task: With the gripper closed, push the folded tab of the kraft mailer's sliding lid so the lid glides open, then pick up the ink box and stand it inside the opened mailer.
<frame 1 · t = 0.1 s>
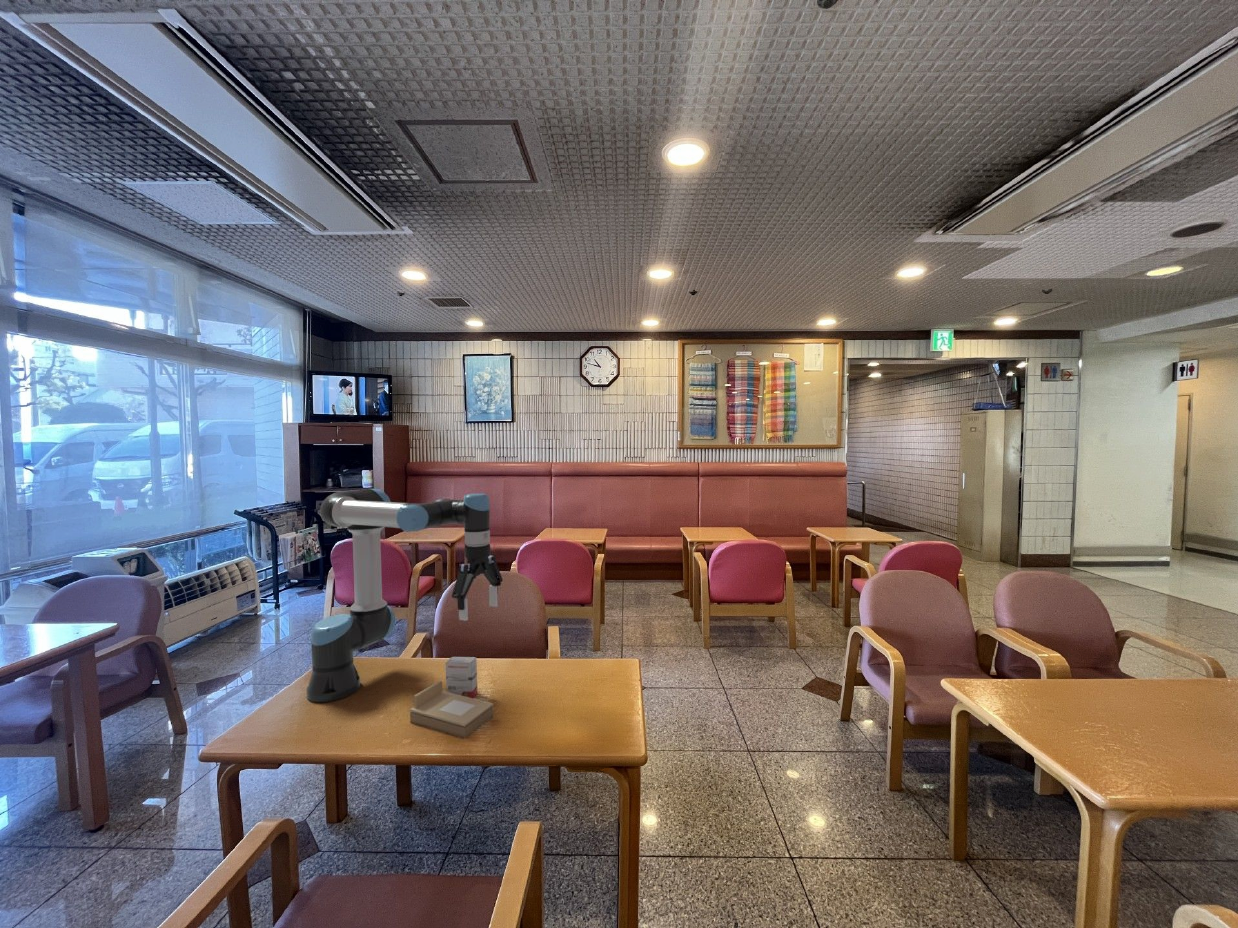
hand: (479, 612, 152), 28 cm above the table, fingers open, 13 cm apart
ink box: (462, 696, 157), on the table
lid: (451, 701, 143), point 5 cm above the table, slide at 0.0 cm
mailer: (452, 719, 143), on the table
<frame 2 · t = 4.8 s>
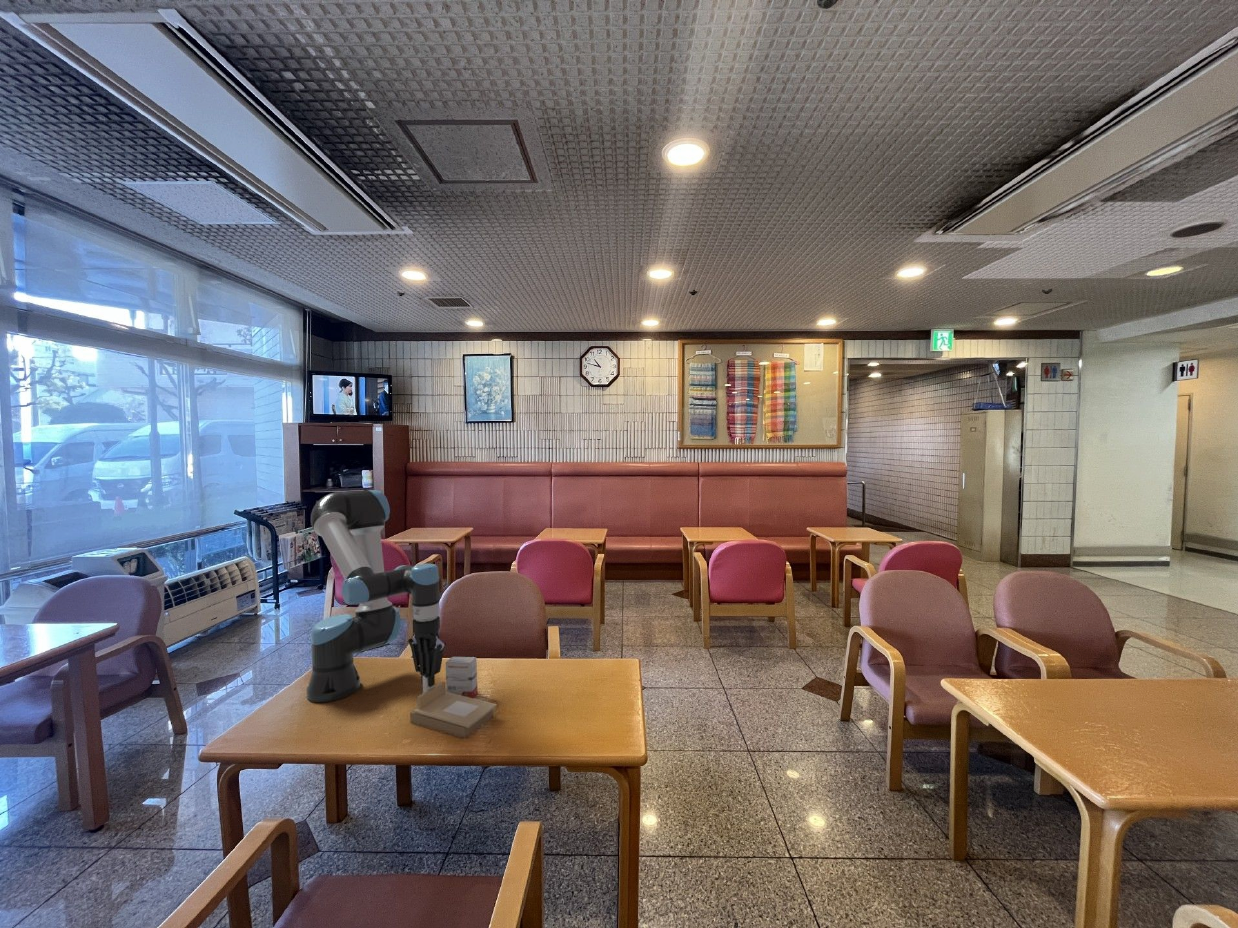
hand: (428, 695, 146), 5 cm above the table, fingers closed
lid: (455, 702, 142), point 5 cm above the table, slide at 1.4 cm, touching gripper
everything else where it was.
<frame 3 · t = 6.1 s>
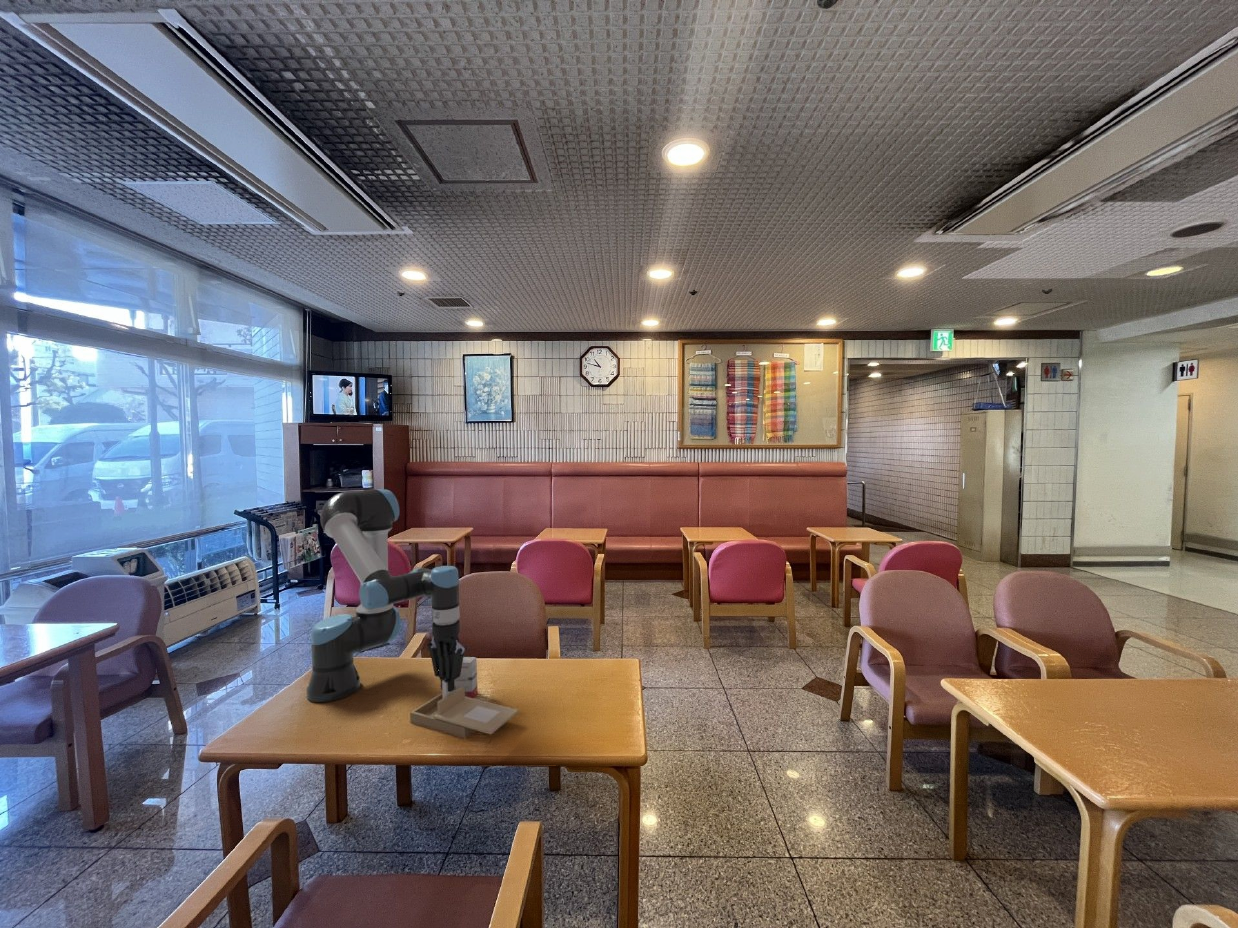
hand: (448, 700, 143), 5 cm above the table, fingers closed
lid: (476, 707, 139), point 5 cm above the table, slide at 8.9 cm, touching gripper
everything else where it was.
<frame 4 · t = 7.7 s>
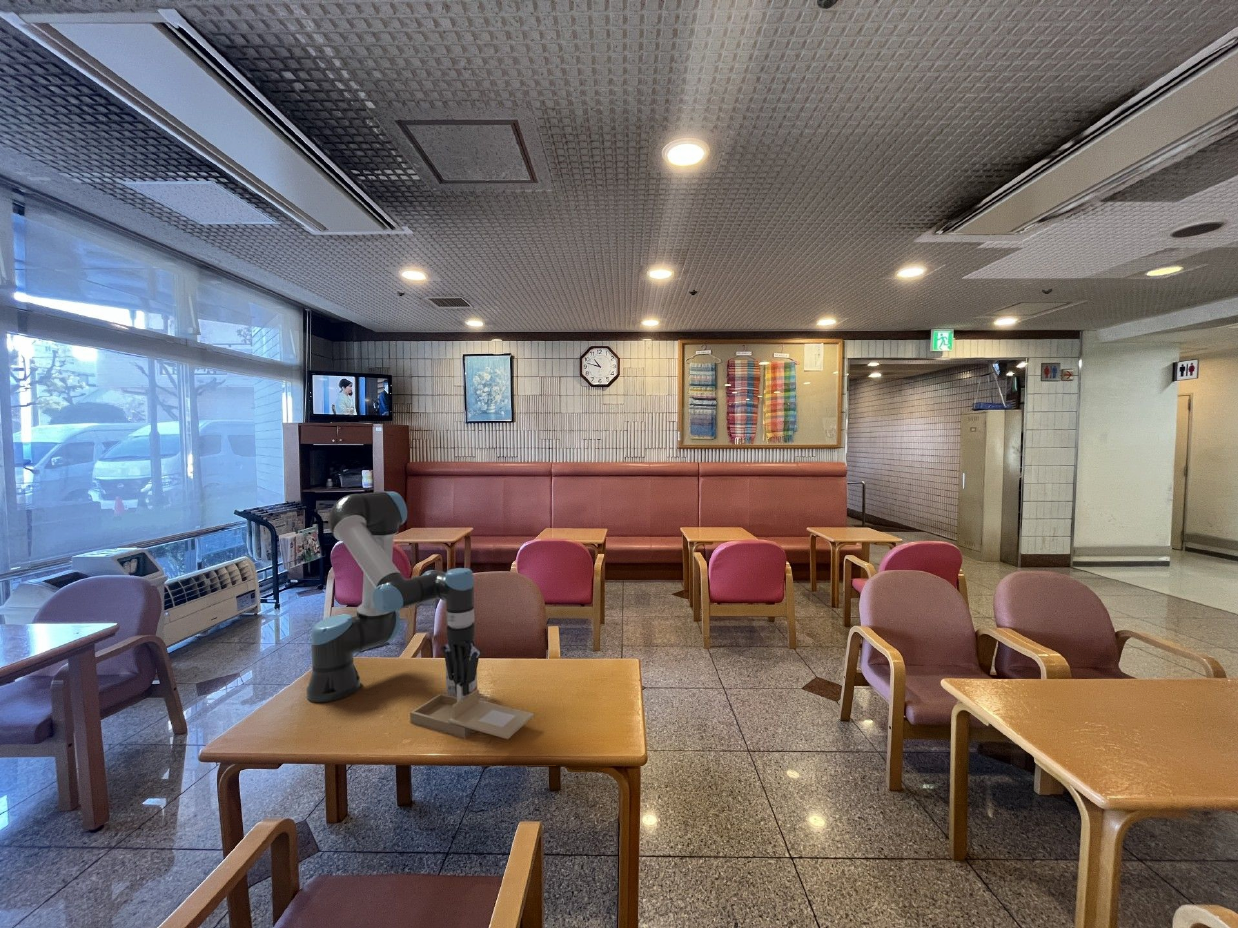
hand: (462, 705, 141), 5 cm above the table, fingers closed
lid: (491, 711, 137), point 5 cm above the table, slide at 14.2 cm, touching gripper
everything else where it was.
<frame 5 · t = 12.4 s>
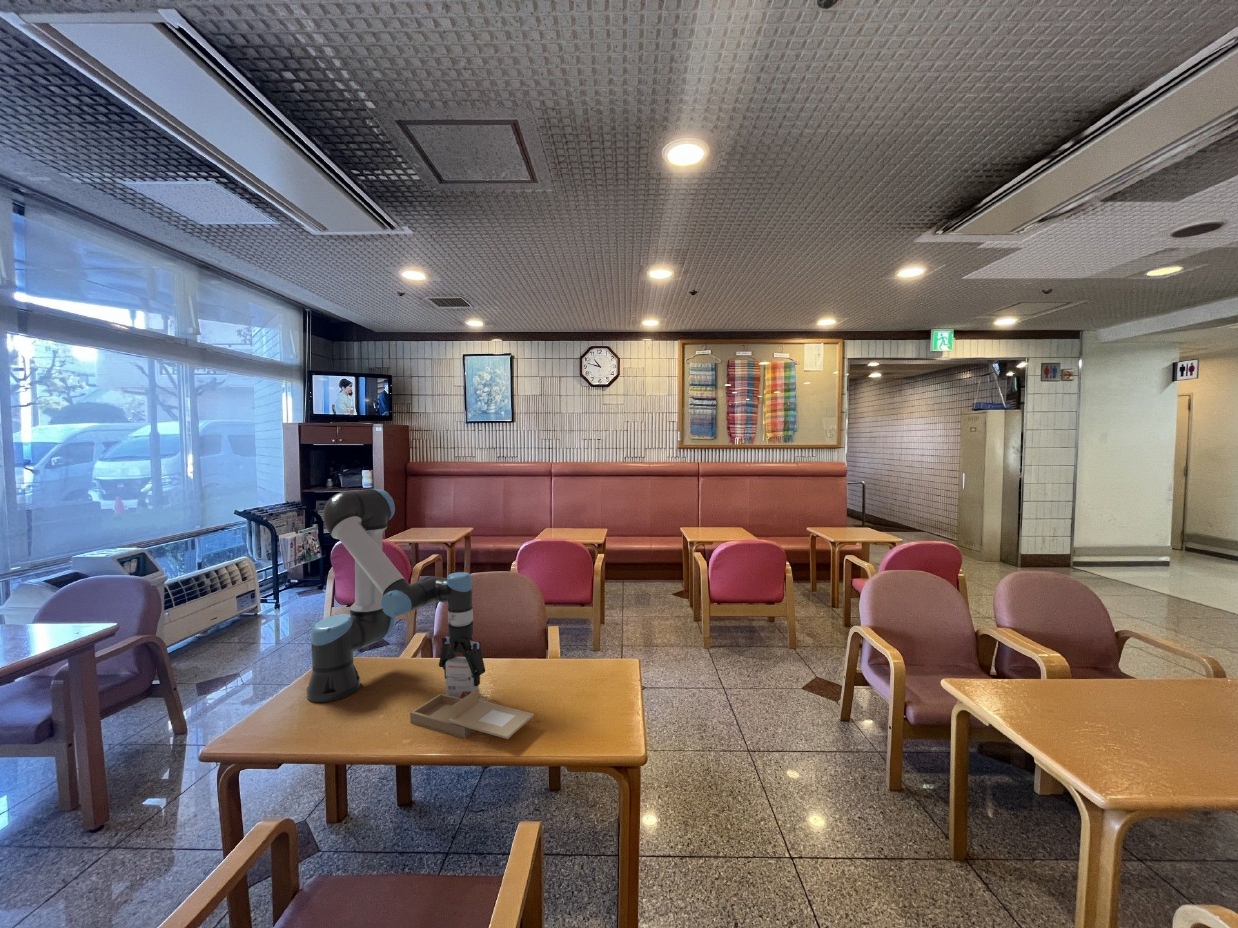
hand: (462, 692, 157), 1 cm above the table, fingers closed on ink box, 9 cm apart
ink box: (462, 696, 157), on the table, touching gripper
lid: (491, 711, 137), point 5 cm above the table, slide at 14.2 cm
when the fingers open (3 cm above the table, at t = 18.1 s): ink box drops 2 cm, resting on mailer.
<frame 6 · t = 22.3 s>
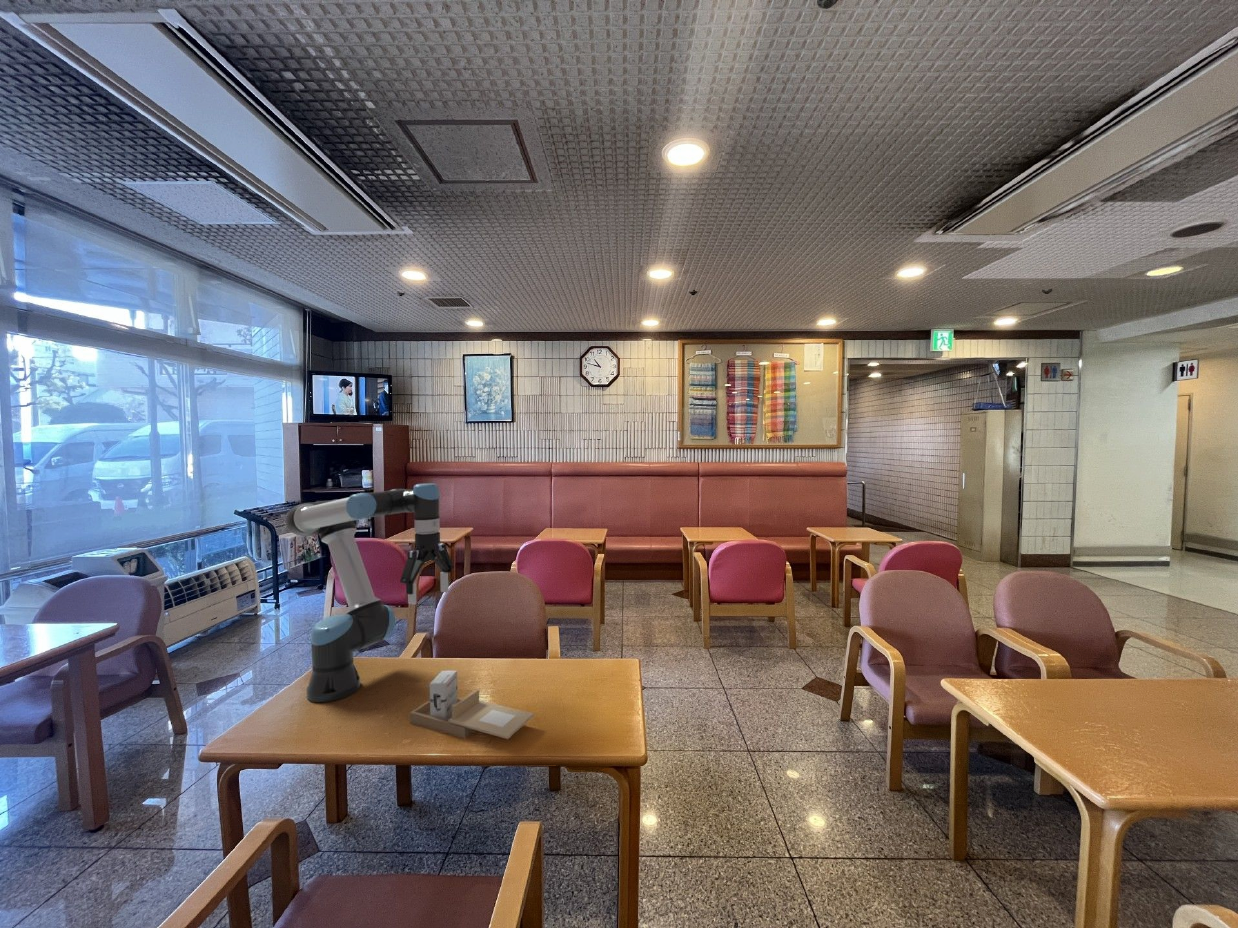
hand: (429, 597, 159), 31 cm above the table, fingers open, 13 cm apart
ink box: (444, 716, 144), resting on mailer
everything else where it was.
at the end: lid slide at 14.2 cm; ink box inside the target area on the mailer (0.3 cm from its centre), point 0.4 cm above the mailer's base; ink box tilted 0° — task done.
